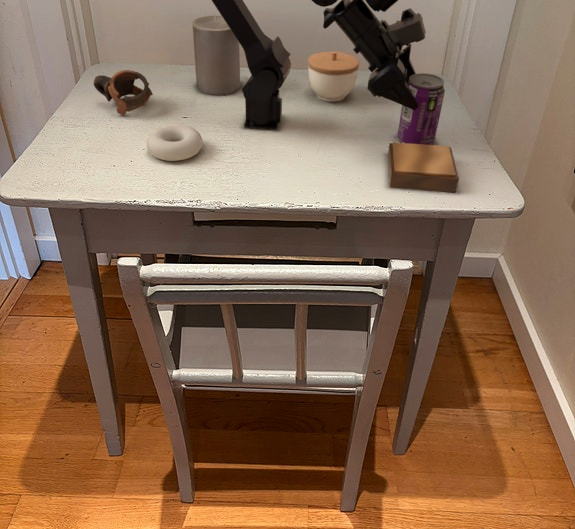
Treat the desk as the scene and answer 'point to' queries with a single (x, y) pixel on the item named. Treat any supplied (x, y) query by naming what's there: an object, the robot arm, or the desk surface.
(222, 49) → the pillar candle
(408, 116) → the beverage can
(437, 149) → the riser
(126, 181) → the desk surface
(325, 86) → the trinket box
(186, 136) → the donut
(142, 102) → the pottery mug
